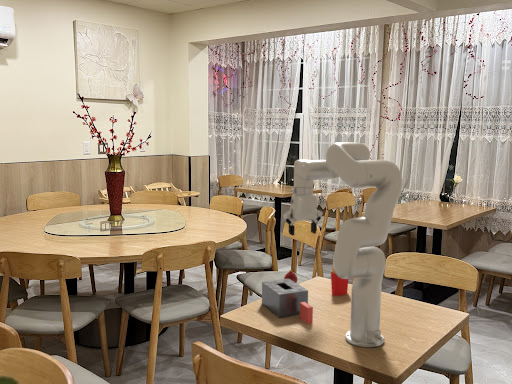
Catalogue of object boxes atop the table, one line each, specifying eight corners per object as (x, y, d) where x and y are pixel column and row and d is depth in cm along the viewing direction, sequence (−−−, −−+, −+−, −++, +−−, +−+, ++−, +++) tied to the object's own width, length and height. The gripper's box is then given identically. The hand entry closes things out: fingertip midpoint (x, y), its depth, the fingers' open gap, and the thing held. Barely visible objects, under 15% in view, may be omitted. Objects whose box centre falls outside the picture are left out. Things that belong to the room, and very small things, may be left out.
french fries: (335, 296, 206) (335, 266, 205) (328, 293, 210) (329, 264, 208) (351, 293, 211) (352, 263, 210) (344, 290, 215) (345, 261, 213)
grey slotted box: (307, 313, 188) (308, 290, 186) (279, 317, 183) (279, 294, 182) (288, 299, 202) (288, 278, 201) (261, 303, 198) (262, 282, 196)
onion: (298, 286, 220) (298, 268, 219) (295, 290, 215) (296, 272, 214) (285, 285, 222) (285, 267, 221) (282, 288, 216) (282, 271, 215)
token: (312, 323, 178) (312, 307, 177) (307, 324, 177) (307, 308, 177) (304, 317, 184) (304, 301, 183) (299, 318, 183) (300, 302, 182)
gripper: (287, 193, 187) (287, 237, 190) (327, 191, 194) (326, 234, 196) (279, 191, 194) (279, 233, 196) (317, 189, 201) (317, 230, 203)
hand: (302, 233), depth 196 cm, fingers open, 9 cm apart
